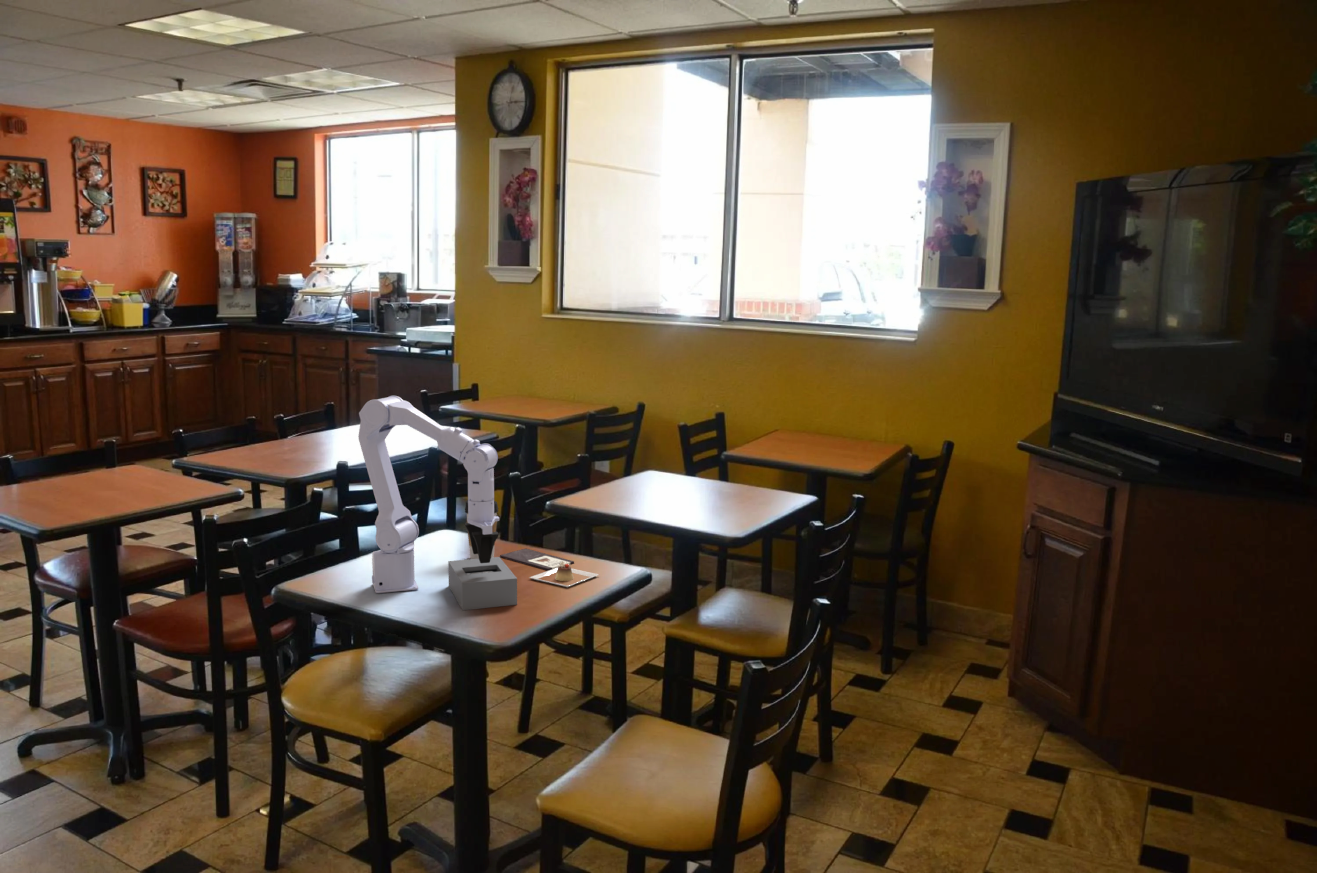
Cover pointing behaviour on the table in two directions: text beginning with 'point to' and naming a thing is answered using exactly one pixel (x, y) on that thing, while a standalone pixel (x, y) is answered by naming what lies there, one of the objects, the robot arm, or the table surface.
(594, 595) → the table surface
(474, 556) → the coffee cup
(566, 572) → the dessert
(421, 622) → the table surface
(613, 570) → the table surface
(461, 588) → the grey tissue box
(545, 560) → the chocolate bar
